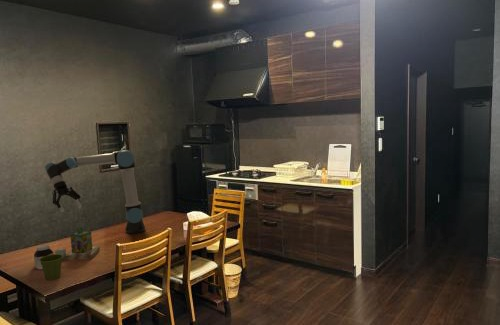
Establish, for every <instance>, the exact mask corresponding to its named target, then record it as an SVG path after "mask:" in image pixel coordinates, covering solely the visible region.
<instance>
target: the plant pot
mask: <svg viewBox="0 0 500 325" xmlns="http://www.w3.org/2000/svg"><path fill="white" fill-rule="evenodd" d="M62 258H63V255H61V254H55V253H53V254H52V255H47V256H44V257H42V258H40V259H39V261H40V262H41V265H42V268H43V269H42V271H43V275H44V277H45V279H46V280H48V281H49V280H51V281H52V280H57V279H58V278H60V277H61V272H62V270H61V269H62V262H63V260H62Z"/></svg>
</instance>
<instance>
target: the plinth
mask: <svg viewBox="0 0 500 325" xmlns="http://www.w3.org/2000/svg"><path fill="white" fill-rule="evenodd" d="M99 252H100V246H99V245H95V246H93V245H92V249H91V250H88V251H86V252H84V253H77V252H72V249H71V250H70V251H69V252H68V253H66V255H65V259H64V261H78V260H79V261H81V260H82V261H83V260H92V259H94V257H95V256H96V255H97V254H98V253H99Z"/></svg>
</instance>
